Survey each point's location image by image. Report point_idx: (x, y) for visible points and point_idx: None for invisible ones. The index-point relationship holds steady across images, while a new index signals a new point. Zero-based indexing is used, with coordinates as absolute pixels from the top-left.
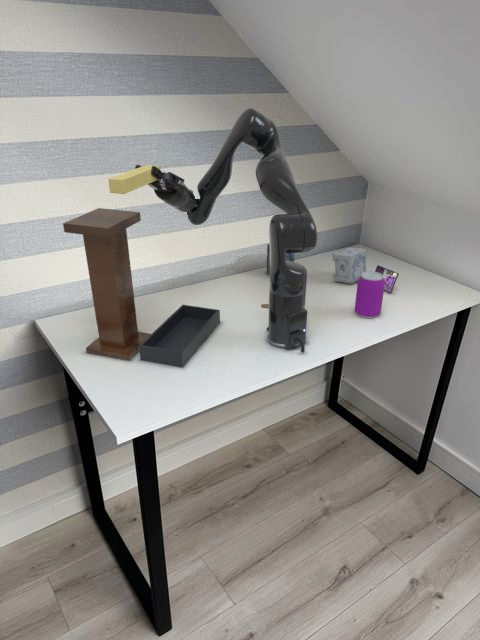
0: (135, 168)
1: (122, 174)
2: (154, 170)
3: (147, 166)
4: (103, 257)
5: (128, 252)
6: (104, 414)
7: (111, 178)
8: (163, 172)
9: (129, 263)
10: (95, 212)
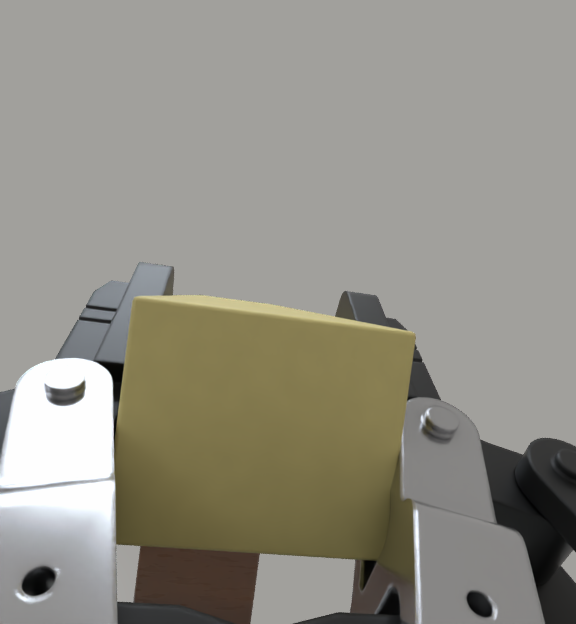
0: None
1: (273, 305)
2: None
3: (299, 314)
4: None
5: (139, 558)
6: None
7: (263, 303)
8: (40, 382)
9: (133, 601)
10: None
